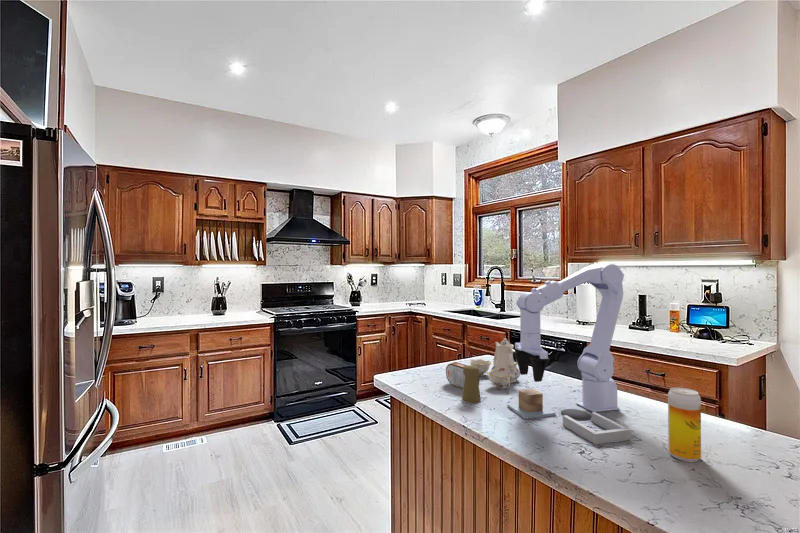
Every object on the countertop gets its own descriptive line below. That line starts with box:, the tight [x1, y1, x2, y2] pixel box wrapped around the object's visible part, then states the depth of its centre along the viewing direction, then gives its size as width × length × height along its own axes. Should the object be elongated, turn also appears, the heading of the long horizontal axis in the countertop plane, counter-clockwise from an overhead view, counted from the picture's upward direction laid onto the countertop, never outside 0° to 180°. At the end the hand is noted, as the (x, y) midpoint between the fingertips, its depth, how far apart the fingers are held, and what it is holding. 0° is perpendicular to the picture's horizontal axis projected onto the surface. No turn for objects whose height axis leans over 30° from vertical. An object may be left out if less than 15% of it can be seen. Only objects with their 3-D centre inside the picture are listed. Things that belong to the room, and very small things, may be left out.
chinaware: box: [469, 337, 521, 390], centre depth 152 cm, size 28×17×17 cm, turn 17°
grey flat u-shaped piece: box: [562, 411, 632, 445], centre depth 104 cm, size 10×12×2 cm
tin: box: [445, 361, 480, 390], centre depth 143 cm, size 15×3×8 cm, turn 35°
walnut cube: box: [518, 388, 544, 412], centre depth 119 cm, size 5×5×5 cm
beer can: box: [667, 386, 702, 463], centre depth 91 cm, size 6×6×15 cm
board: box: [506, 402, 557, 420], centre depth 119 cm, size 10×10×1 cm
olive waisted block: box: [461, 364, 482, 404], centre depth 130 cm, size 6×6×11 cm
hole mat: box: [560, 408, 592, 421], centre depth 116 cm, size 8×8×1 cm
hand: (530, 377), depth 119 cm, fingers open, 7 cm apart
